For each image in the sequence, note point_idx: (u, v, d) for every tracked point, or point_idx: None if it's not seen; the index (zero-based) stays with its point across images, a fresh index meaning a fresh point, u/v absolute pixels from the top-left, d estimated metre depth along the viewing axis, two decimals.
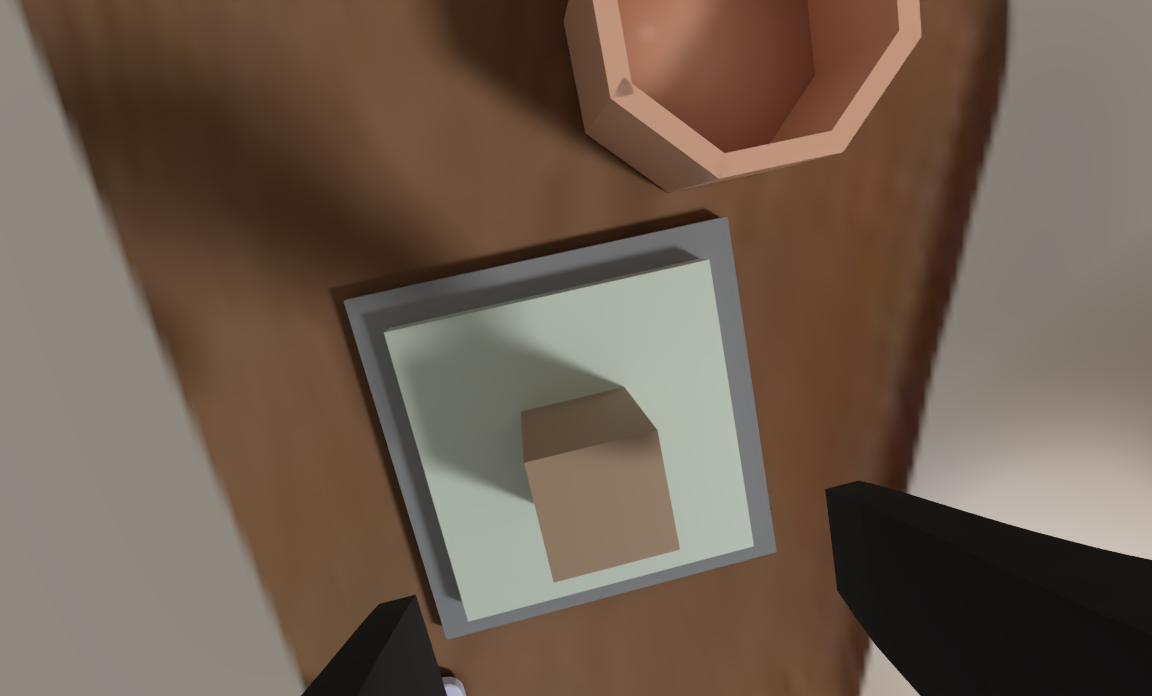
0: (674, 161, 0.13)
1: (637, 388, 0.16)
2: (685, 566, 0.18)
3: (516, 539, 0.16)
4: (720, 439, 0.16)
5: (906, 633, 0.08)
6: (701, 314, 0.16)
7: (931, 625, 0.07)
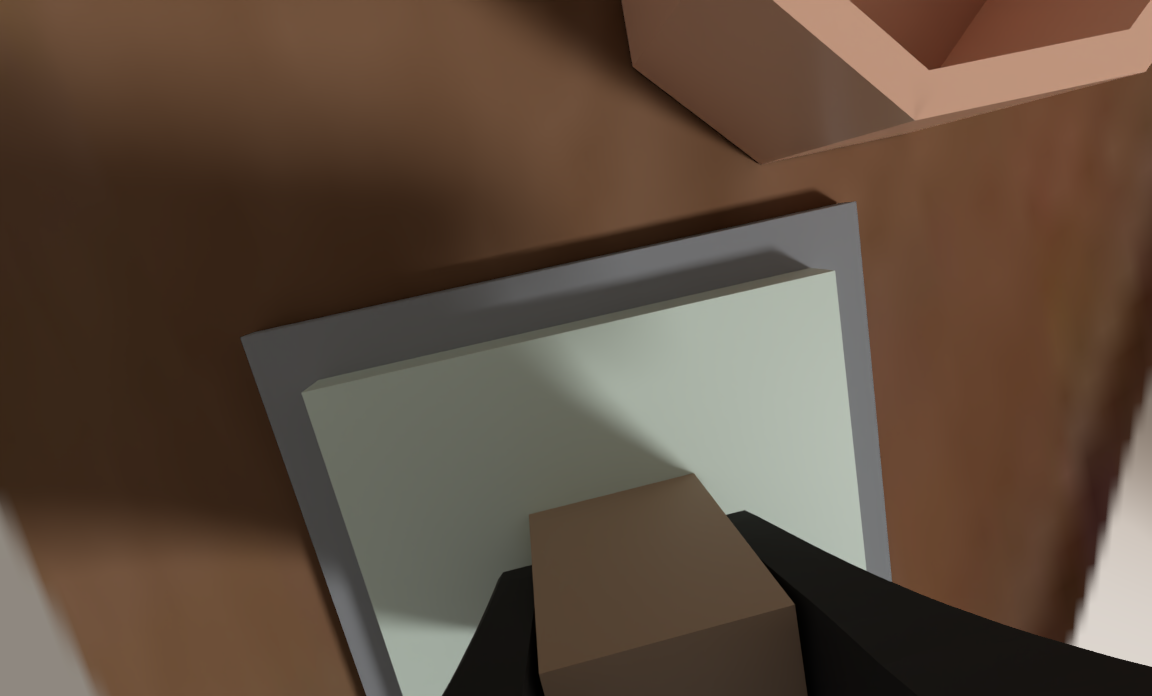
0: (812, 95, 0.07)
1: (714, 474, 0.10)
2: None
3: None
4: (838, 549, 0.11)
5: None
6: (818, 357, 0.10)
7: None
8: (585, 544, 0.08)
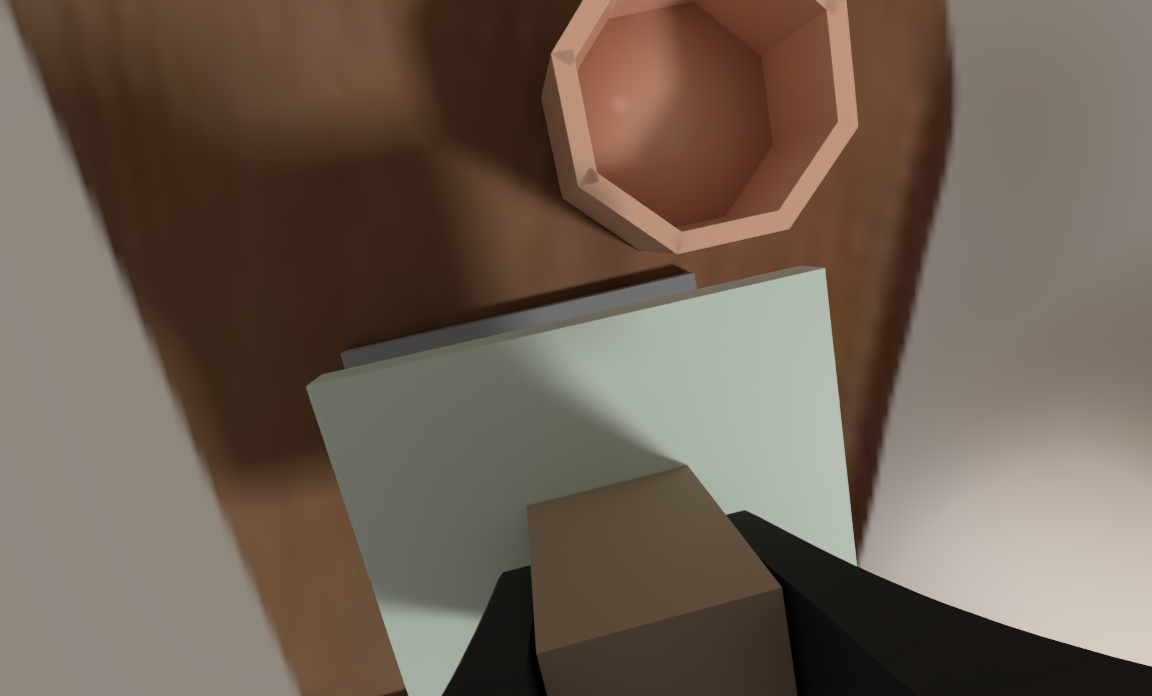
0: (639, 234, 0.14)
1: (707, 467, 0.10)
2: None
3: None
4: (829, 540, 0.11)
5: None
6: (808, 353, 0.10)
7: None
8: (581, 533, 0.09)
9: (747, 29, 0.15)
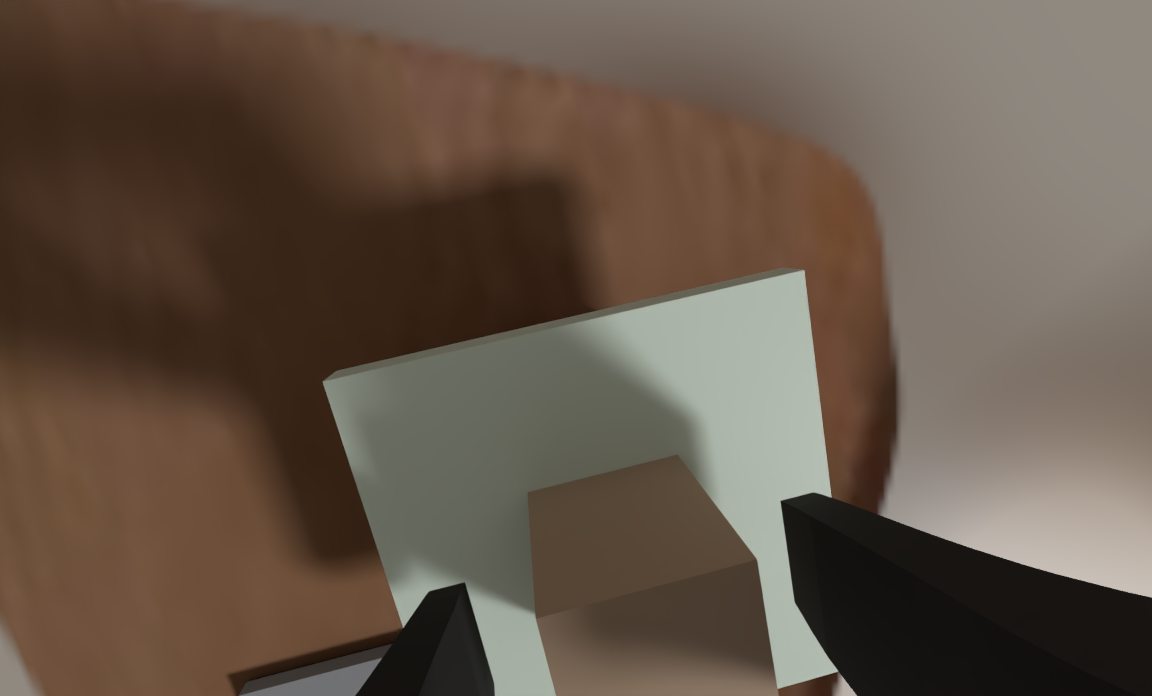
0: None
1: (696, 456, 0.11)
2: None
3: (522, 668, 0.11)
4: None
5: (854, 648, 0.08)
6: (790, 349, 0.11)
7: (875, 641, 0.07)
8: (578, 516, 0.09)
9: None
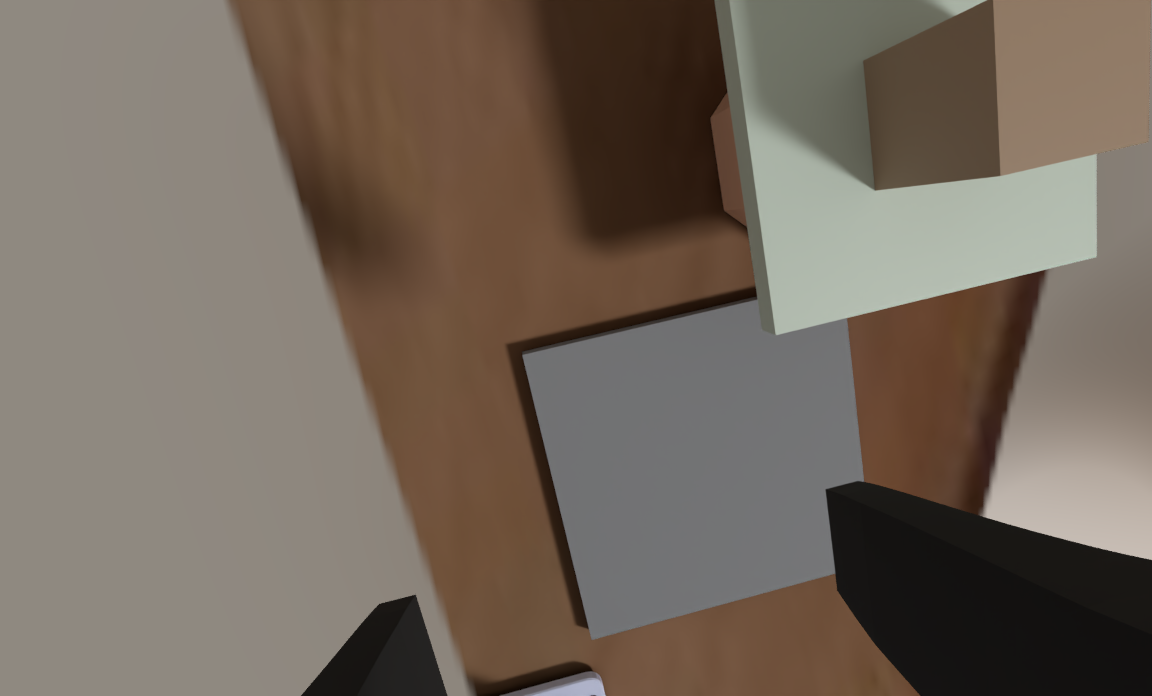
0: None
1: None
2: (794, 576, 0.21)
3: (840, 230, 0.14)
4: None
5: (906, 633, 0.08)
6: None
7: (931, 625, 0.07)
8: None
9: None
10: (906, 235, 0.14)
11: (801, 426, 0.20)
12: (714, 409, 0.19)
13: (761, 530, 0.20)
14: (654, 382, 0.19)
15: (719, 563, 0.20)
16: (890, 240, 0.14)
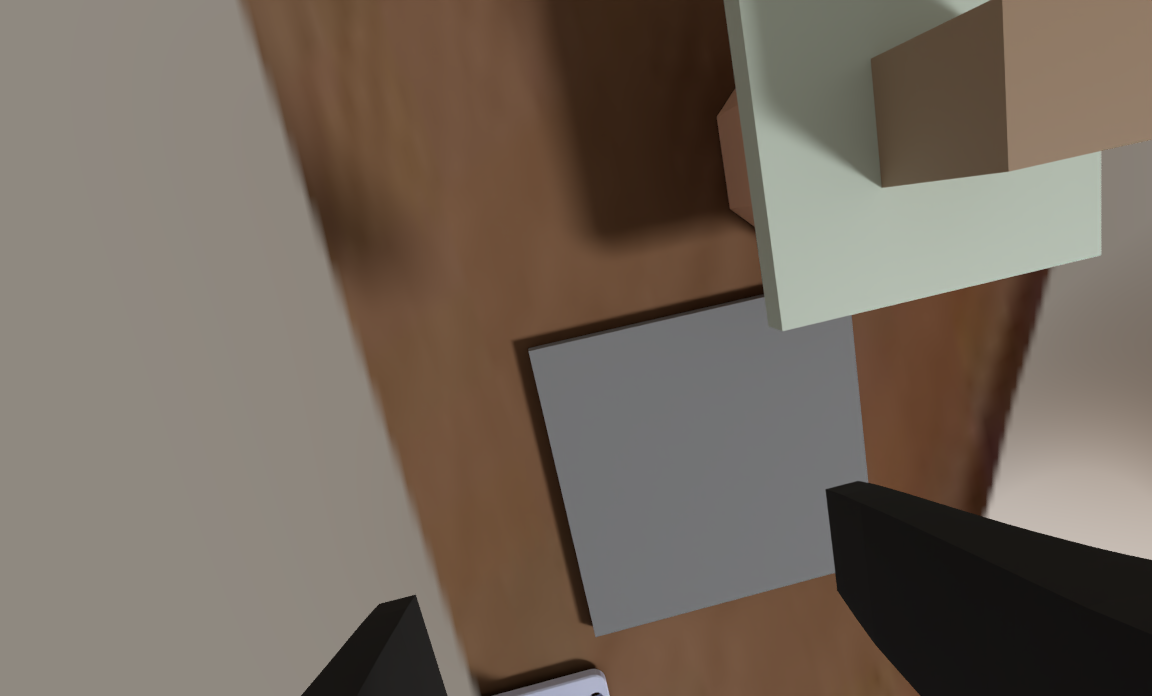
0: None
1: None
2: (798, 574, 0.21)
3: (847, 227, 0.14)
4: None
5: (906, 633, 0.08)
6: None
7: (931, 625, 0.07)
8: None
9: None
10: (912, 232, 0.14)
11: (805, 424, 0.20)
12: (719, 406, 0.19)
13: (765, 528, 0.20)
14: (659, 379, 0.19)
15: (723, 561, 0.20)
16: (896, 237, 0.14)
